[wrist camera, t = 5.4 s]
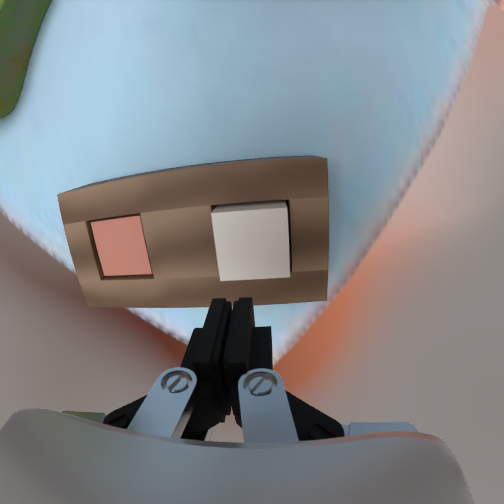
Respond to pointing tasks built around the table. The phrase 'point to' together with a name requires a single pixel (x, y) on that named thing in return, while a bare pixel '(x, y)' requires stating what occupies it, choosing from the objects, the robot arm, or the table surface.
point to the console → (201, 232)
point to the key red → (121, 245)
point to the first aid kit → (17, 45)
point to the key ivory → (252, 240)
